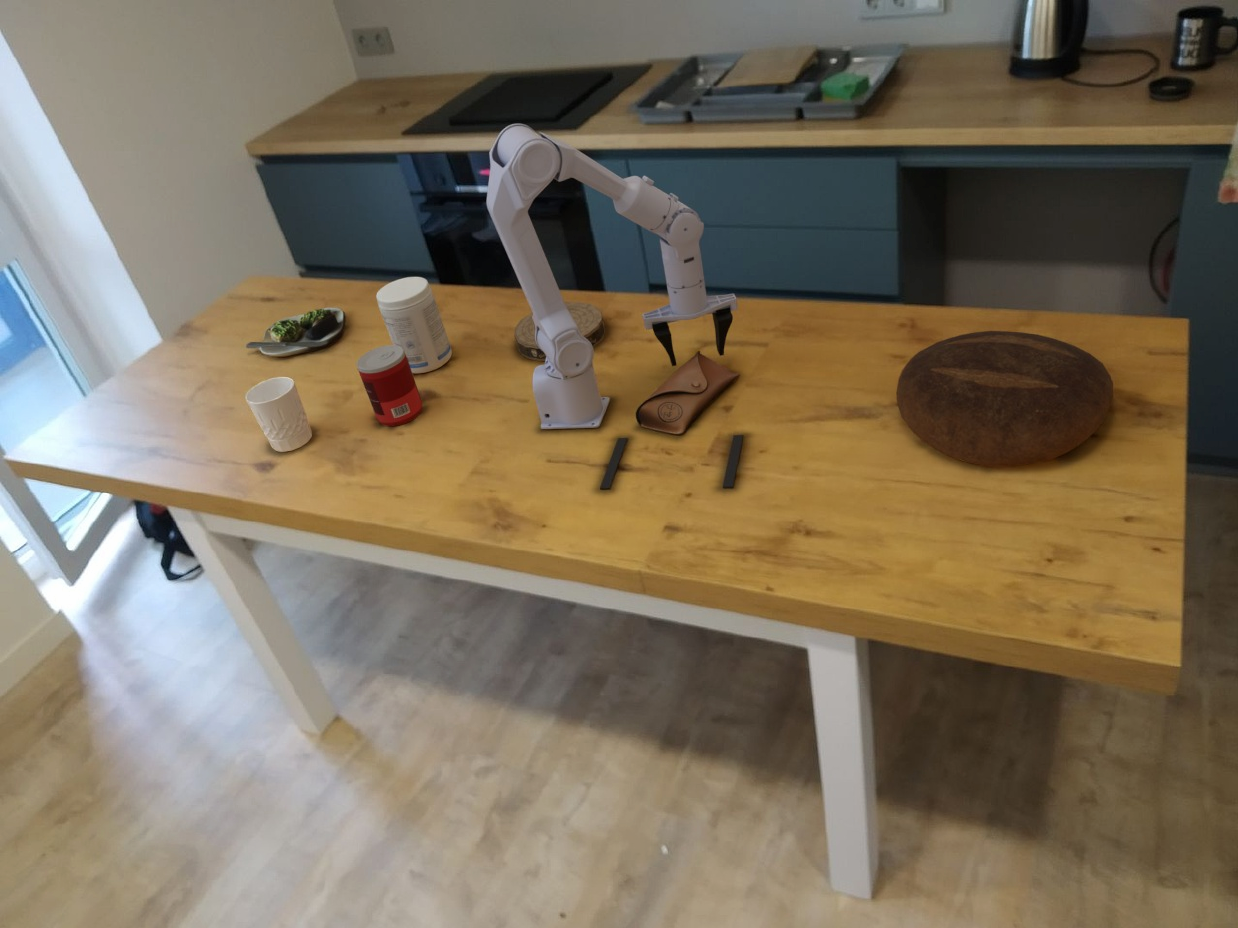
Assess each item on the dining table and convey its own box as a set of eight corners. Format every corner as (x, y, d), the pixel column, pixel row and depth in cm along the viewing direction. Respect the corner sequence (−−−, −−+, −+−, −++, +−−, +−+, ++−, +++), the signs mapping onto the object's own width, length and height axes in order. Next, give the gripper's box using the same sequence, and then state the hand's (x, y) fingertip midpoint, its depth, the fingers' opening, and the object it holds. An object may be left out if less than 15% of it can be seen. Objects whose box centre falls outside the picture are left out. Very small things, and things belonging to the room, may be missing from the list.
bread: (928, 347, 151) (928, 296, 146) (1125, 367, 138) (1133, 311, 133) (868, 452, 133) (866, 398, 128) (1089, 487, 119) (1096, 428, 114)
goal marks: (600, 489, 137) (599, 487, 137) (618, 439, 146) (618, 438, 146) (733, 488, 132) (732, 486, 132) (743, 436, 141) (743, 434, 141)
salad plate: (243, 373, 188) (233, 352, 185) (256, 331, 203) (247, 311, 200) (342, 349, 188) (334, 328, 186) (348, 310, 203) (341, 289, 200)
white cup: (273, 460, 159) (249, 408, 154) (265, 439, 165) (241, 389, 160) (320, 441, 162) (298, 390, 156) (310, 421, 168) (288, 371, 162)
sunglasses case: (684, 434, 143) (658, 397, 142) (653, 446, 148) (628, 410, 147) (743, 372, 154) (720, 337, 153) (713, 385, 160) (690, 351, 158)
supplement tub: (439, 343, 183) (416, 270, 175) (462, 359, 176) (439, 284, 168) (392, 364, 179) (366, 291, 171) (414, 381, 173) (388, 306, 164)
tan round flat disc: (545, 314, 185) (541, 300, 183) (620, 319, 178) (617, 304, 176) (501, 357, 174) (497, 342, 172) (579, 364, 167) (576, 349, 165)
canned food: (432, 402, 165) (413, 345, 159) (405, 429, 160) (384, 371, 153) (396, 399, 169) (375, 343, 162) (368, 425, 163) (346, 368, 157)
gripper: (726, 259, 152) (735, 336, 160) (634, 280, 152) (648, 356, 160) (736, 277, 147) (746, 356, 154) (641, 299, 147) (655, 377, 154)
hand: (697, 357), depth 157 cm, fingers open, 7 cm apart
